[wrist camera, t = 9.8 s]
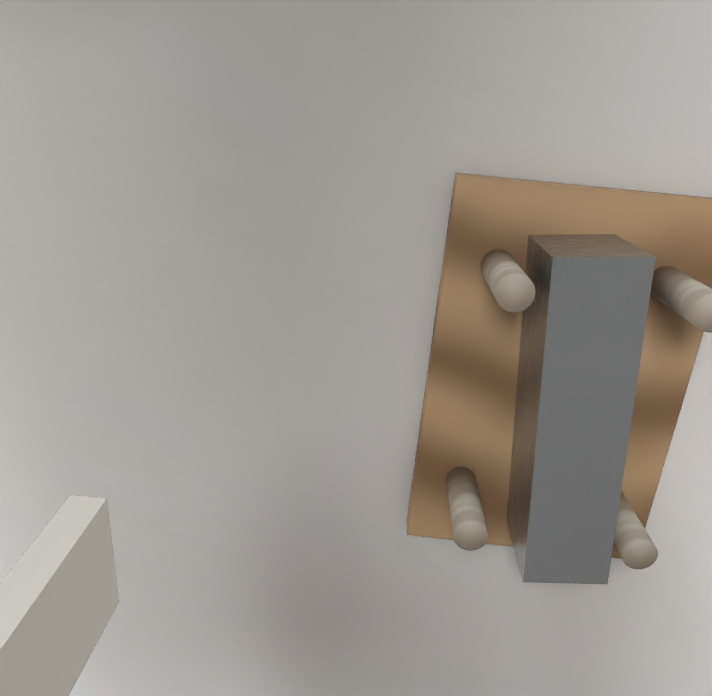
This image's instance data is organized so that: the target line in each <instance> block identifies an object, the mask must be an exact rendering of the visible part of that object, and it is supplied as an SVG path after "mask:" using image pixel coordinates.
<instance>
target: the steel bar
mask: <svg viewBox="0 0 712 696" xmlns="http://www.w3.org/2000/svg"><path fill="white" fill-rule="evenodd" d="M655 259H656V257H655V256H653V255H651V254H649V253H648V252H646V251H644V250H642V249H641V248H639V247H637V246H635V245H633V244H632V243H630V242H628V241H626V240H624V239H623V238H621V237H619V236H617V235H616V234H572V235H528V246H527V259H526V272H525V274H526V275H527V276H528V277H529V279H530V280H531V281H532V282H533V284H534V286H535V298H534V300H533V302H532V304H531V305H530V306H529V307H528V308H526V309H525V310H523V311H522V324H521V337H520V351H519V364H518V377H517V390H516V403H515V416H514V429H513V442H512V455H511V468H510V481H509V494H508V507H507V524H508V527H509V531H510V535H511V539H512V542H513V546H514V550H515V553H516V557H517V561H518V564H519V568H520V572H521V576H522V579H523V582H543V583H580V584H607V583H608V576H609V569H610V562H611V556H612V549H613V542H614V535H615V529H616V522H617V515H618V509H619V502H620V495H621V488H622V482H623V475H624V468H625V461H626V455H627V448H628V441H629V434H630V428H631V421H632V414H633V407H634V401H635V394H636V387H637V380H638V374H639V367H640V360H641V353H642V347H643V340H644V333H645V326H646V320H647V313H648V306H649V299H650V293H651V286H652V279H653V272H654V266H655Z"/></svg>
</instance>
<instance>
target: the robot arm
mask: <svg viewBox="0 0 712 696" xmlns="http://www.w3.org/2000/svg"><path fill="white" fill-rule="evenodd" d="M118 603H119V598H118V590H117V581H116V573H115V564H114V556H113V547H112V538H111V530H110V521H109V513H108V504H107V498H97V497H84V496H71V495H70V496H69V498H68V499H67V500H66V501H65V503H64V504H63V505H62V506H61V508H60V509H59V510H58V511H57V513H56V514H55V515H54V516H53V518H52V519H51V520H50V521H49V523H48V524H47V525H46V526H45V528H44V529H43V530H42V531H41V533H40V534H39V535H38V536H37V538H36V539H35V540H34V541H33V543H32V544H31V545H30V546H29V548H28V549H27V550H26V551H25V553H24V554H23V555H22V556H21V558H20V559H19V560H18V561H17V563H16V564H15V565H14V566H13V568H12V569H11V570H10V572H9V573H8V574H7V575H6V577H5V578H4V579H3V580H2V582H1V583H0V696H69V694H70V692H71V690H72V688H73V686H74V684H75V683H76V681H77V679H78V677H79V675H80V673H81V671H82V670H83V668H84V666H85V664H86V662H87V660H88V658H89V657H90V655H91V653H92V651H93V649H94V647H95V645H96V643H97V642H98V640H99V638H100V636H101V634H102V632H103V630H104V629H105V627H106V625H107V623H108V621H109V619H110V617H111V616H112V614H113V612H114V610H115V608H116V606H117V604H118Z"/></svg>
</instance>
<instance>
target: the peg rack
mask: <svg viewBox="0 0 712 696" xmlns="http://www.w3.org/2000/svg"><path fill="white" fill-rule="evenodd" d="M572 234H616V235H617V236H619V237H621V238H623V239H624V240H626V241H628V242H630V243H632V244H633V245H635V246H637V247H639V248H641V249H642V250H644V251H646V252H648V253H649V254H651V255H653V256H655V257H656V259H655V266H654V272H653V279H652V286H651V293H650V299H649V306H648V313H647V320H646V326H645V333H644V340H643V347H642V353H641V360H640V367H639V374H638V380H637V387H636V394H635V401H634V407H633V414H632V421H631V428H630V434H629V441H628V448H627V455H626V461H625V468H624V475H623V482H622V488H621V495H620V502H619V509H618V515H617V522H616V529H615V535H614V542H613V549H612V556H611V557H612V558H621V559H623V561H624V563H625V564H626V565H627V566H629V567H630V568H633V569H643V568H647V567H649V566H651V565H652V564H653V563H654V562H655V561H656V559H657V556H658V552H657V549H656V547H655V545H654V544H653V542H652V540H651V539H650V537H649V535H648V534H647V532H646V530H645V526H646V523H647V520H648V516H649V513H650V510H651V506H652V503H653V500H654V496H655V493H656V490H657V486H658V483H659V479H660V476H661V473H662V469H663V466H664V463H665V459H666V456H667V453H668V449H669V446H670V443H671V439H672V436H673V433H674V429H675V426H676V423H677V419H678V416H679V413H680V409H681V406H682V403H683V399H684V396H685V393H686V389H687V386H688V383H689V379H690V376H691V373H692V369H693V366H694V363H695V359H696V356H697V353H698V349H699V346H700V343H701V339H702V336H703V332H712V198H707V197H697V196H686V195H676V194H666V193H655V192H645V191H635V190H624V189H614V188H604V187H593V186H583V185H573V184H562V183H552V182H542V181H531V180H521V179H510V178H500V177H490V176H479V175H469V174H459V173H455V178H454V186H453V193H452V200H451V207H450V214H449V221H448V229H447V236H446V243H445V250H444V257H443V265H442V272H441V279H440V286H439V293H438V300H437V308H436V315H435V322H434V329H433V336H432V344H431V351H430V358H429V365H428V372H427V379H426V387H425V394H424V401H423V408H422V415H421V423H420V430H419V437H418V444H417V451H416V458H415V466H414V473H413V480H412V487H411V494H410V502H409V509H408V516H407V535H414V536H423V537H432V538H441V539H450V540H455V543H456V544H457V545H458V546H459V547H460V548H462V549H465V550H477V549H479V548H481V547H482V546H484V545H485V543H486V544H495V545H504V546H513V542H512V539H511V535H510V531H509V527H508V524H507V507H508V494H509V481H510V468H511V455H512V442H513V429H514V416H515V403H516V390H517V377H518V364H519V351H520V337H521V324H522V311H523V310H525V309H526V308H528V307H529V306H530V305H531V304H532V302H533V300H534V298H535V286H534V284H533V282H532V281H531V280H530V279H529V277H528V276H527V275H526V274H525V272H526V259H527V246H528V235H572ZM513 547H514V546H513Z"/></svg>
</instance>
